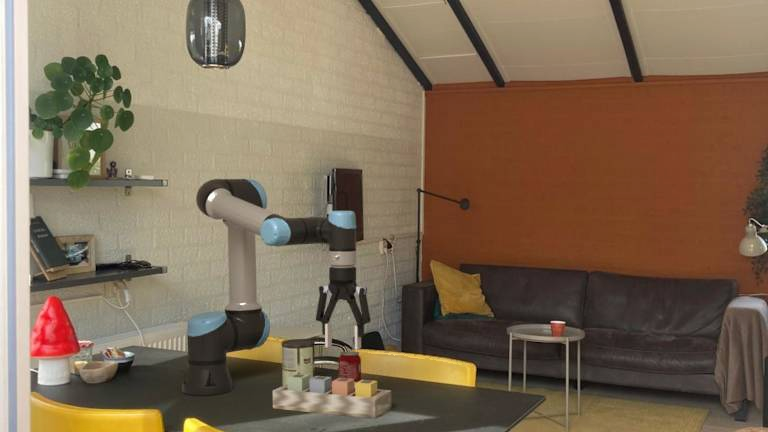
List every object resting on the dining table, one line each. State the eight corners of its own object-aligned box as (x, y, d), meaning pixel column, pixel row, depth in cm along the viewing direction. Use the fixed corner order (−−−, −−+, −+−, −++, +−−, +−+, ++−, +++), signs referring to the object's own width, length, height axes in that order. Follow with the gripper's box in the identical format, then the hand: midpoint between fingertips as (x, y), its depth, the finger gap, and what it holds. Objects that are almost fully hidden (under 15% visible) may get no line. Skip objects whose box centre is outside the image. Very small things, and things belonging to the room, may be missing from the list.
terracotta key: (332, 399, 234) (332, 380, 234) (339, 395, 238) (339, 377, 238) (347, 400, 233) (347, 381, 232) (354, 396, 237) (354, 378, 237)
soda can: (358, 395, 252) (358, 355, 251) (336, 394, 253) (336, 354, 253) (363, 390, 258) (363, 351, 258) (341, 389, 260) (341, 350, 259)
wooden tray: (272, 408, 237) (272, 390, 237) (292, 398, 248) (292, 381, 248) (374, 418, 226) (374, 400, 225) (391, 408, 237) (391, 390, 237)
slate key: (309, 396, 237) (309, 378, 237) (317, 393, 241) (316, 375, 241) (324, 398, 235) (324, 379, 235) (331, 394, 239) (331, 376, 239)
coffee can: (292, 381, 270) (292, 337, 270) (321, 384, 266) (320, 340, 265) (275, 388, 261) (275, 343, 260) (304, 391, 256) (304, 345, 256)
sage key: (287, 394, 239) (287, 376, 239) (295, 391, 244) (295, 373, 244) (302, 396, 238) (301, 377, 238) (309, 392, 242) (309, 374, 242)
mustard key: (355, 401, 232) (355, 382, 231) (362, 397, 236) (361, 379, 236) (370, 402, 230) (370, 383, 230) (377, 398, 234) (377, 380, 234)
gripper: (302, 266, 235) (303, 347, 236) (372, 268, 227) (373, 352, 228) (314, 264, 242) (315, 342, 242) (383, 266, 234) (383, 347, 235)
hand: (343, 347), depth 235 cm, fingers open, 8 cm apart
